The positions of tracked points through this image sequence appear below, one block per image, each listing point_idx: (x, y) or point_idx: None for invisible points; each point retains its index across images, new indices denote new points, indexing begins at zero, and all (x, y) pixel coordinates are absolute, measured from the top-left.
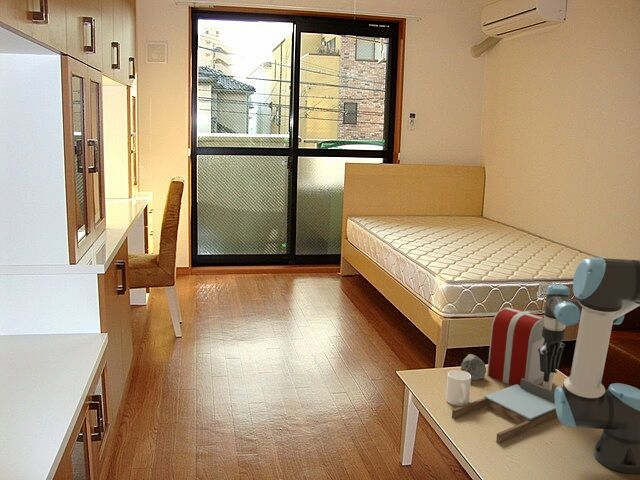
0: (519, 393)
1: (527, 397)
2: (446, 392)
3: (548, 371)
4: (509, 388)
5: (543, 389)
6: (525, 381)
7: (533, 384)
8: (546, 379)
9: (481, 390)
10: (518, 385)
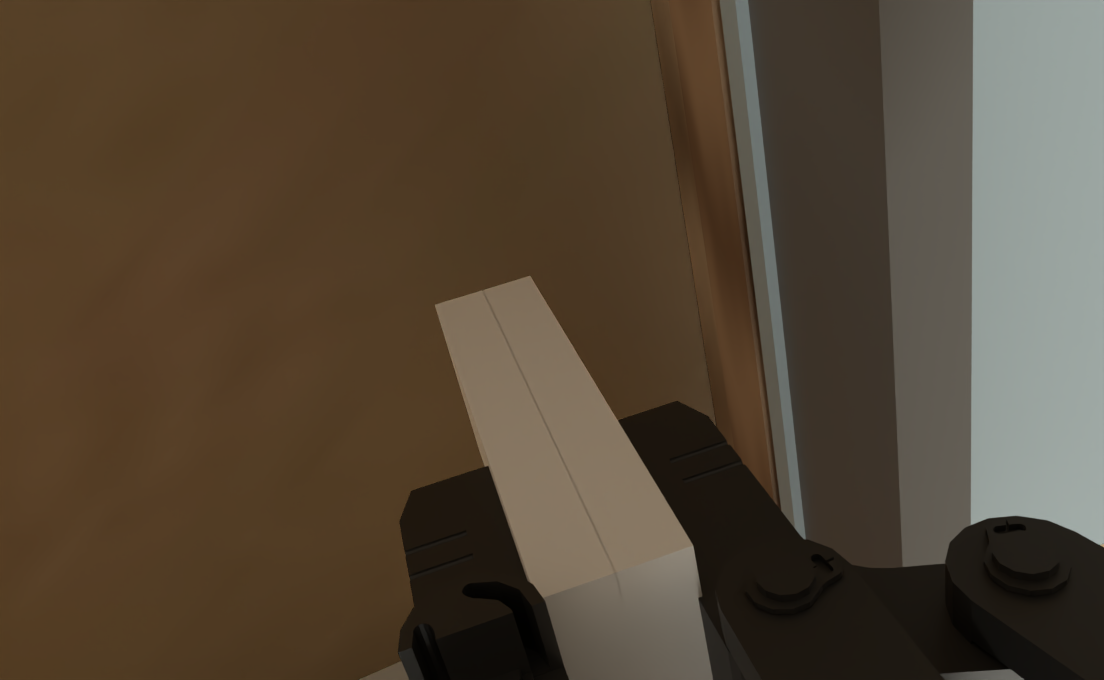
0: (1039, 365)
1: (1059, 193)
2: None
3: (876, 614)
4: None
5: (959, 131)
6: None
7: (969, 409)
8: (727, 446)
9: None
10: None
